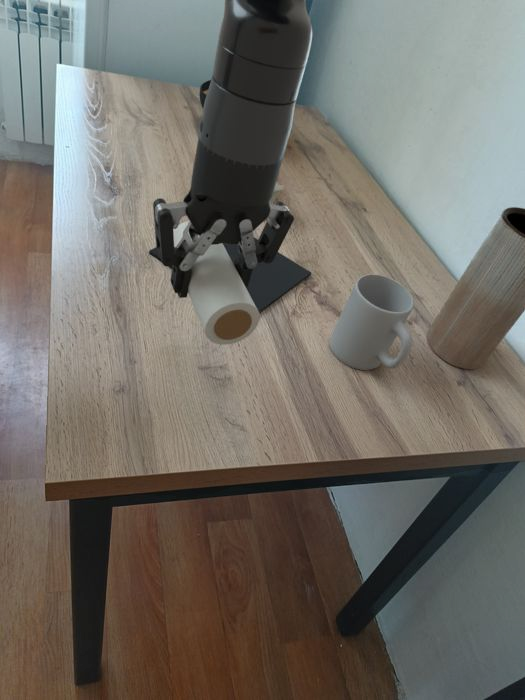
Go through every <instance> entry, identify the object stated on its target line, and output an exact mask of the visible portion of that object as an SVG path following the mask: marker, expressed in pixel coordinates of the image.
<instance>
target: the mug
mask: <svg viewBox="0 0 525 700" xmlns="http://www.w3.org/2000/svg"><path fill="white" fill-rule="evenodd" d="M414 301H415V300H414V297H413V295H412V294H411V292H410V291H409V290H408V289H407V288H406V287H405V286H404V285H403V284H401V283H400V282H399V281H397V280H395V279H393V278H391V277H389V276H385V275H383V274H379V273H378V274H377V273H368V274H363V275H361V276H360V277H358V278H357V280H356V281H355V282H354V285H353V287H352V290H351V291H350V293H349V296H348V298H347V300H346V302H345V304H344V306H343V309H342V311H341V313H340V315H339V318H338V319H337V322H336V323H335V325H334V327H333V330H332V332H331V333H330V336H329V341H328V342H329V349H330V350H331V352H332V354H333V355H334V356H335V357H336V358H337V359H338V360H339V362H341V363H343V364H344V365H346V366H348V367H350V368H353V369H355V370H360V371H372V370H374V369H377V368H378V367H380V366H381V365H383V366H384V367H386V368H387V369H390V370H392V369H393V370H394V369H397V368H398V367H400V366H401V365H402V364H403V363H404V362H405V361H406V359H407V358H408V356H409V354H410V352H411V350H412V347H413V337H412V336H413V335H412V334H411V331H409V329H408V328H407V326H406V325H405V323H406V322H407V320H408V318H409V317H410V315H411V313H412V311H413V309H414V305H415V302H414ZM397 338H399V340H400V342H401V345H400V349H399V352H398V354H397V356H396V357H394V358H393V357H392V356H391V354H390V353H389V352H390V349H391V347H392V346H393V344H394V342H395V341H396V339H397Z"/></svg>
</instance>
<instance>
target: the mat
mask: <svg viewBox="0 0 525 700" xmlns="http://www.w3.org/2000/svg"><path fill="white" fill-rule="evenodd" d="M258 239H259V238H256V237H254V242H255V246H256V243H257V241H258ZM223 245H224V247H225V249H226V251H227V253H228V255H229V257H230V259H231V260H232V262H233V264H234V262H235V258H236V257H239V256H240V254H239V250H238V246H237V244H228V243H223ZM148 254H149V255H150V256H152V257H154V258H155V259H156V260H158V261H160V262H161V263H162V260H161V258H160V256H159V253H158V251H157V248H156V246H155V247H153V248H151V249H149V251H148ZM168 267H169V268H170V269H172V268H173V265H171V266H168ZM311 275H312V272H311V271H310V270H308V269H306V268H305V267H304V266H302V265H301V264H298V263H297V262H295V261H293V259H290V258H289V257H287V256H285V255H284V254H282V253H281V252H279V251H278V252H277V254H276V256H275V258H274V260H273V261H272V262H271V263H268V264H267V263H265V262H264V261H263V262H260V263H258V264H257V266H256V267H255V268H253V270H252V274H251V277H250V281H249V284H248V287H247V288H246V289H247V291H248V293H249V294H250V296H251V298H252V300H253V302H254V304H255V306H256V308H257V310H258V311H259V314H261V313H262V312H263V311H265V310H266V309H267V308H269V307H270V306H272V305H273V304H274V303H275V302H277V301H278V300H280V299H281V298H282V297H284V295H286V294H287V293H289V292H290V291H291V290H292V289H294V288H295V287H296V286H298V285H300V284H301V283H303V282H304V281H305V280H306V279H308V277H310V276H311Z"/></svg>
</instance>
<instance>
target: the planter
mask: <svg viewBox="0 0 525 700" xmlns="http://www.w3.org/2000/svg"><path fill="white" fill-rule="evenodd" d="M524 312H525V208H523V207H516V206H512V207H506V208H504V209H503V210H502V211H501V212H500V214H499V215H498V217H497V219H496V220H495V222H494V223H493V225H492V226H491V228H490V230H489V232H487V235H486V236H485V238H484V240H483V241H482V243H481V244H480V246H479V247H478V249H477V251H476V252H475V254H474V256H473V257H472V259H471V260H470V262H469V264H468V265H467V266H466V269H465V270H464V271H463V273H462V275H461V276H460V278H459V280H458V281H457V283H456V285H455V286H454V288H453V290H452V291H451V293H450V294H449V296H448V297H447V299H446V301H445V302H444V304H443V306H442V307H441V309H440V311H439V312H438V314H437V315H436V317H435V318H434V320H433V321H432V324H430V327H429V329H428V330H427V333H426V340H427V343H428V345H429V347H430V348H431V350H432V351H433V352H434V354H436V356H437V357H439V358H440V359H441V360H443V361H444V362H446V363H447V364H450V365H452V366H454V367H457V368H460V369H465V370H476V369H479V368H481V367H482V366H483V365H484V364H485V363H486V362H487V361H488V359H489V358H490V357H491V355H492V354H494V352H495V350H496V349H497V348H498V346H499V345H500V344H501V342H502V341H503V340H504V338H505V337H506V336H507V335H508V333H509V332H510V330H512V328H513V327H514V325H515V324H516V323H517V321H518V320H519V318H520V317H521V316H522V315H523V314H524Z"/></svg>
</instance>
